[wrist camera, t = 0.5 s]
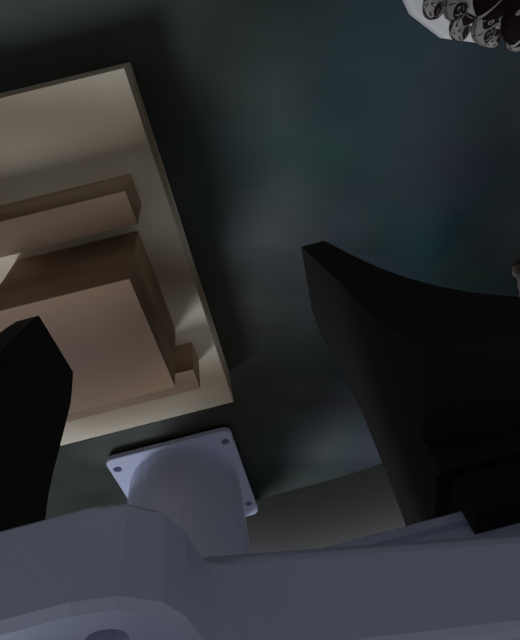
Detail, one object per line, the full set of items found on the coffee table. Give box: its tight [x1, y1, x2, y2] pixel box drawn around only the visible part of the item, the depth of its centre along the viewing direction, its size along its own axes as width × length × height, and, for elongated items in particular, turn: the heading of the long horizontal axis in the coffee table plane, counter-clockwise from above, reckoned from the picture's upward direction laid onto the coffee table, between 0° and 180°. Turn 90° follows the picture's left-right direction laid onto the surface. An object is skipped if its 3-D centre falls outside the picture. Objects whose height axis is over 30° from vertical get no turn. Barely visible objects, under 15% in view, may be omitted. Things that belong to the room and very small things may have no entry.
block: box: [0, 231, 175, 414], centre depth 18 cm, size 5×5×4 cm
